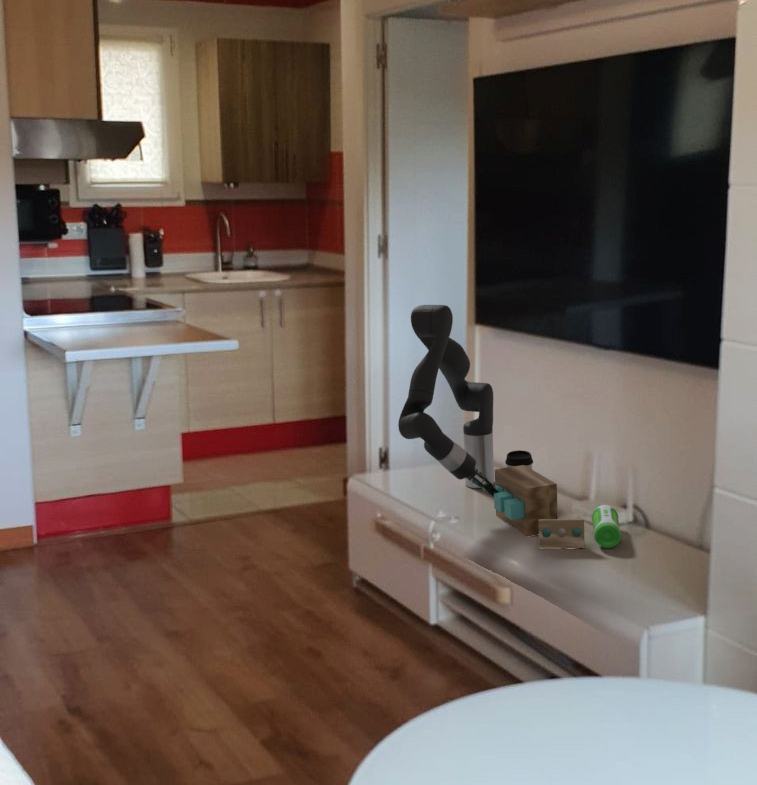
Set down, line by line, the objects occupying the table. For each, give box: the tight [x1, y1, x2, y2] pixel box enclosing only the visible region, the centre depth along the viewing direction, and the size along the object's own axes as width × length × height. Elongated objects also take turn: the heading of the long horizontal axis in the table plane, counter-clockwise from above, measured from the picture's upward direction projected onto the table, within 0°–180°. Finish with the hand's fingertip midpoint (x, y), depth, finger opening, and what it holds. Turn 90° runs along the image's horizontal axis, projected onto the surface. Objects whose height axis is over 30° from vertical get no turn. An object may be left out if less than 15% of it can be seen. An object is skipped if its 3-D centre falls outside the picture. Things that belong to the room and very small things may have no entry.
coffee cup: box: [505, 449, 534, 470], centre depth 353 cm, size 8×8×15 cm
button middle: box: [493, 491, 514, 512], centre depth 331 cm, size 6×4×4 cm
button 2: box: [504, 498, 525, 520], centre depth 325 cm, size 6×4×4 cm
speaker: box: [591, 504, 622, 549], centre depth 319 cm, size 18×7×8 cm, turn 172°
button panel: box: [494, 465, 559, 537], centre depth 333 cm, size 10×21×14 cm, turn 18°
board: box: [538, 518, 586, 550], centre depth 315 cm, size 5×12×8 cm, turn 83°
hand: (496, 494), depth 338 cm, fingers closed
